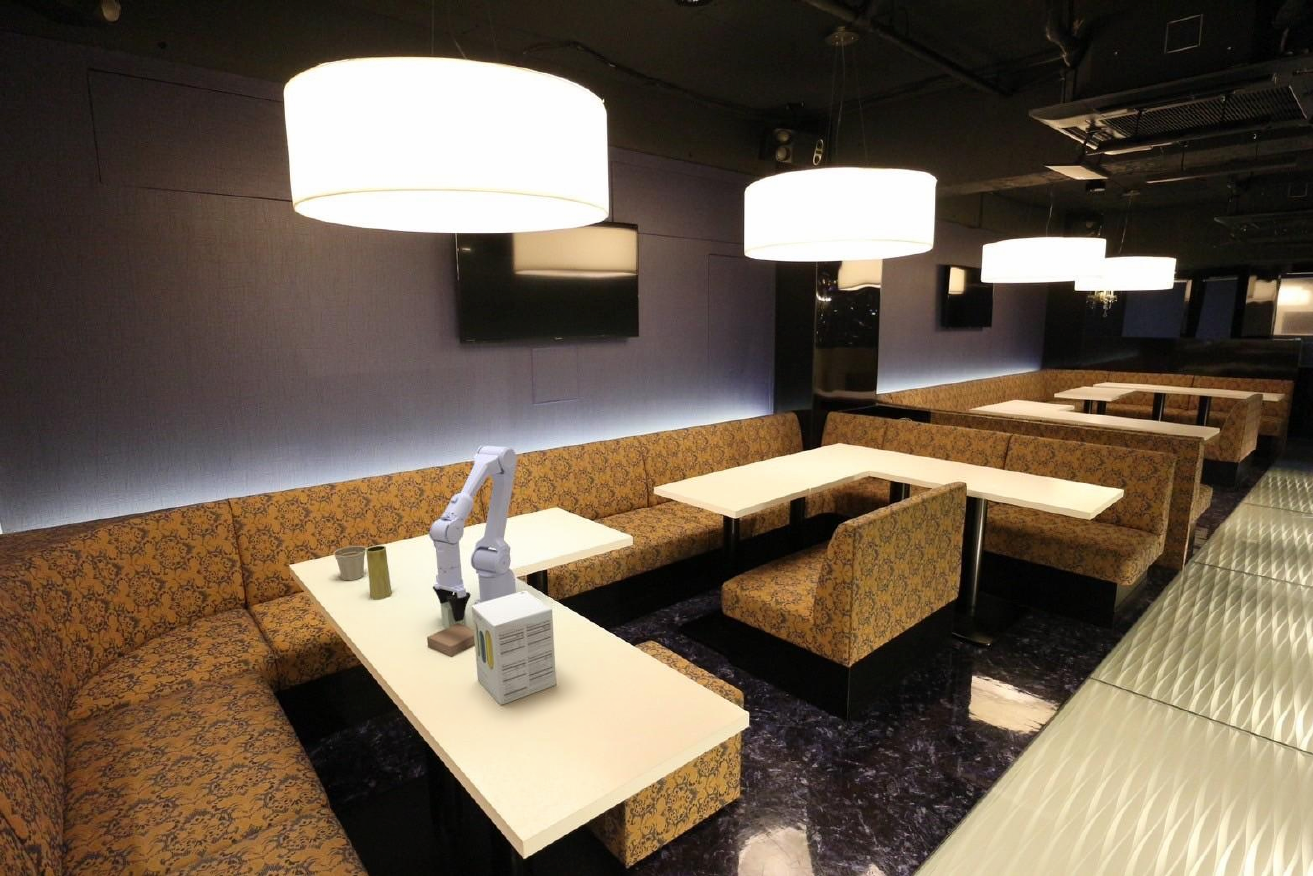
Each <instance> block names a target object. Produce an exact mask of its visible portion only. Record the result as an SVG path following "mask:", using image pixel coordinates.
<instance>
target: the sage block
mask: <svg viewBox="0 0 1313 876" xmlns="http://www.w3.org/2000/svg"><path fill="white" fill-rule="evenodd" d="M440 611H441V612H440V613H441V622H442V626H443V627H444V629H446V628H448V627H450V626H452V625H455V624H457V623H459V624H462V625H464V626H467V619H466V613H465V614H464V619H463V620H461V621H458V622H455V620H454V617H453V613H452V609H451V606H450V603H449V602H446V603H442V604H440Z"/></svg>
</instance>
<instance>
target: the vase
mask: <svg viewBox="0 0 1313 876" xmlns="http://www.w3.org/2000/svg"><path fill="white" fill-rule="evenodd" d="M366 549H367V550H366V551H365V554H366V561H367V572H368V573H367V574H368V583H369V598H370V599H372V600H382V599H383V600H384V599H386V598H388V597H390V596H392V595H393V590H392V586H391V576H390V569H389V564H388V557H387V555H388V554H387V547H386V546H384V545H373V546H370V547H368V548H366Z"/></svg>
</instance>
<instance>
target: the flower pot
mask: <svg viewBox="0 0 1313 876" xmlns="http://www.w3.org/2000/svg"><path fill="white" fill-rule="evenodd" d="M367 549H368V548H367V547H365V546H364V545H363V546H362V545H354V546H346V547H343V548H339V549H337V550H335V551H334V552H333V556H334V557H335V560H336V561H337V562H336V563H337V565H338V569H339V573H340V576H341V579H342V580H343V581H349V582H350V581H356V580H359V579H361V578H362V577H364V571H365V555H366V550H367Z"/></svg>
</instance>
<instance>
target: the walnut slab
mask: <svg viewBox="0 0 1313 876" xmlns="http://www.w3.org/2000/svg"><path fill="white" fill-rule="evenodd" d="M426 638H427V639H426V640H427V647H428V648H429V649H432V650H434V651H436V652H438V653H440V654H444V655H446V656H448V657H450V658H453V657H454V656H457V655H458V654H460V653H462V652H465V651H466V650H468V649H470V648H473V647H475V640H474V628H472V627H469V626H467V625H466V626H464V625H462V624H459V623H457V624H455V625H452V626H450V627H448V628H444V629H441V630H439V631H437V632H434V633H433V634H431V635H429V636H427V637H426Z"/></svg>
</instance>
